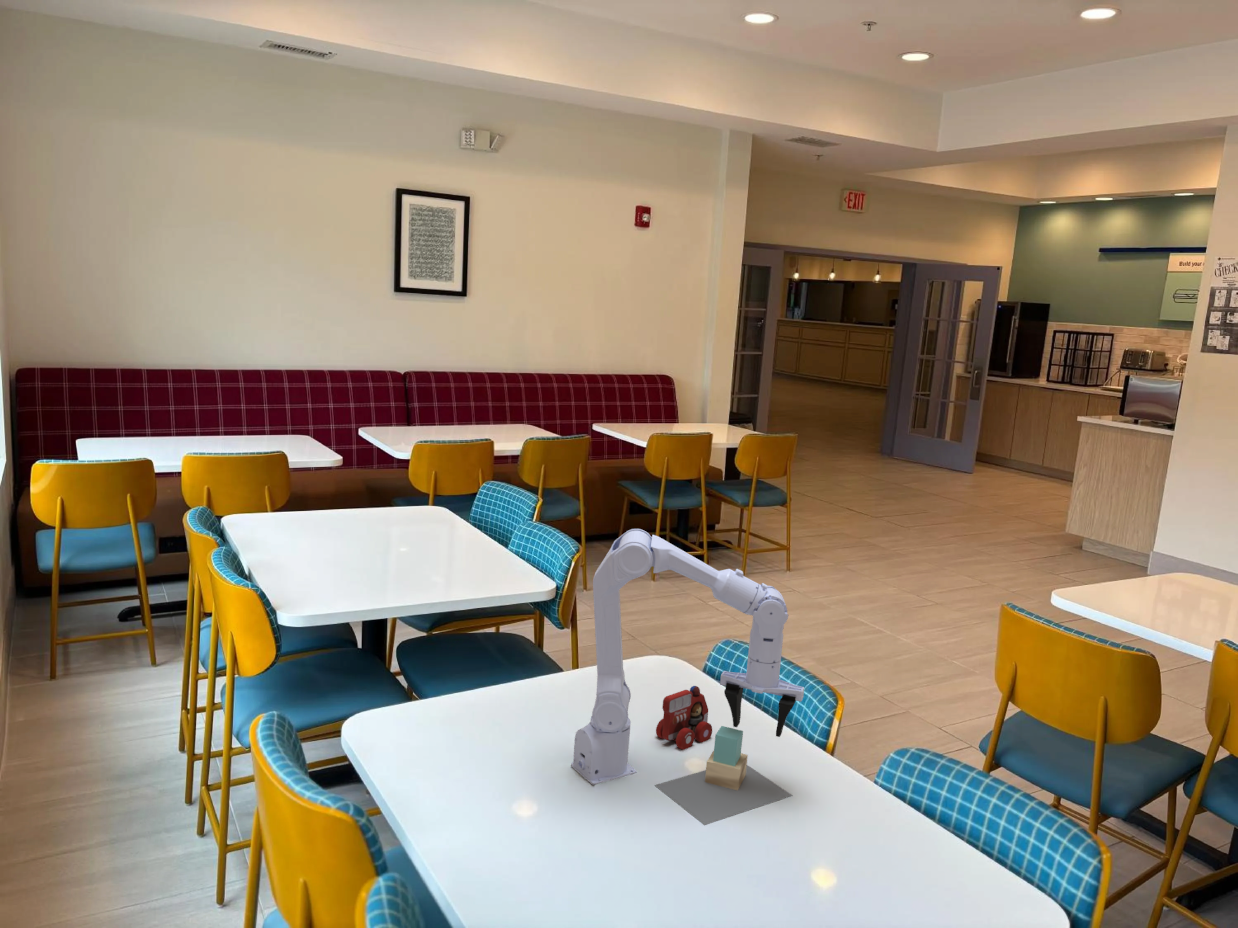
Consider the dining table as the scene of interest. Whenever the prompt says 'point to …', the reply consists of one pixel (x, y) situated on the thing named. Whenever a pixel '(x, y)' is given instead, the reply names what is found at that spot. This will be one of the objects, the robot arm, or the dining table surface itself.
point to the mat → (721, 795)
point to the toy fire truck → (685, 718)
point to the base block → (726, 772)
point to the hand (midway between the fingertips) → (757, 729)
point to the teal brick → (728, 746)
